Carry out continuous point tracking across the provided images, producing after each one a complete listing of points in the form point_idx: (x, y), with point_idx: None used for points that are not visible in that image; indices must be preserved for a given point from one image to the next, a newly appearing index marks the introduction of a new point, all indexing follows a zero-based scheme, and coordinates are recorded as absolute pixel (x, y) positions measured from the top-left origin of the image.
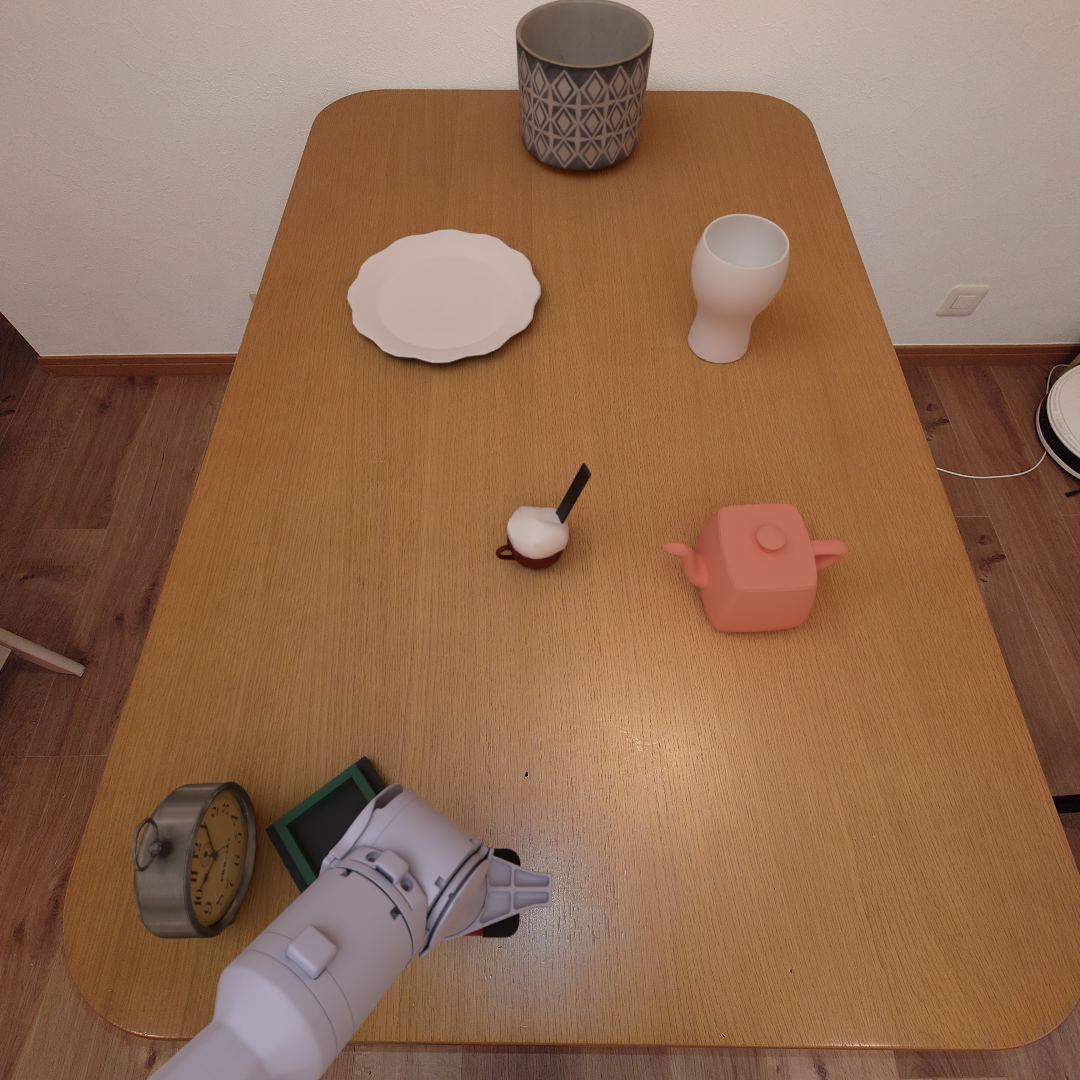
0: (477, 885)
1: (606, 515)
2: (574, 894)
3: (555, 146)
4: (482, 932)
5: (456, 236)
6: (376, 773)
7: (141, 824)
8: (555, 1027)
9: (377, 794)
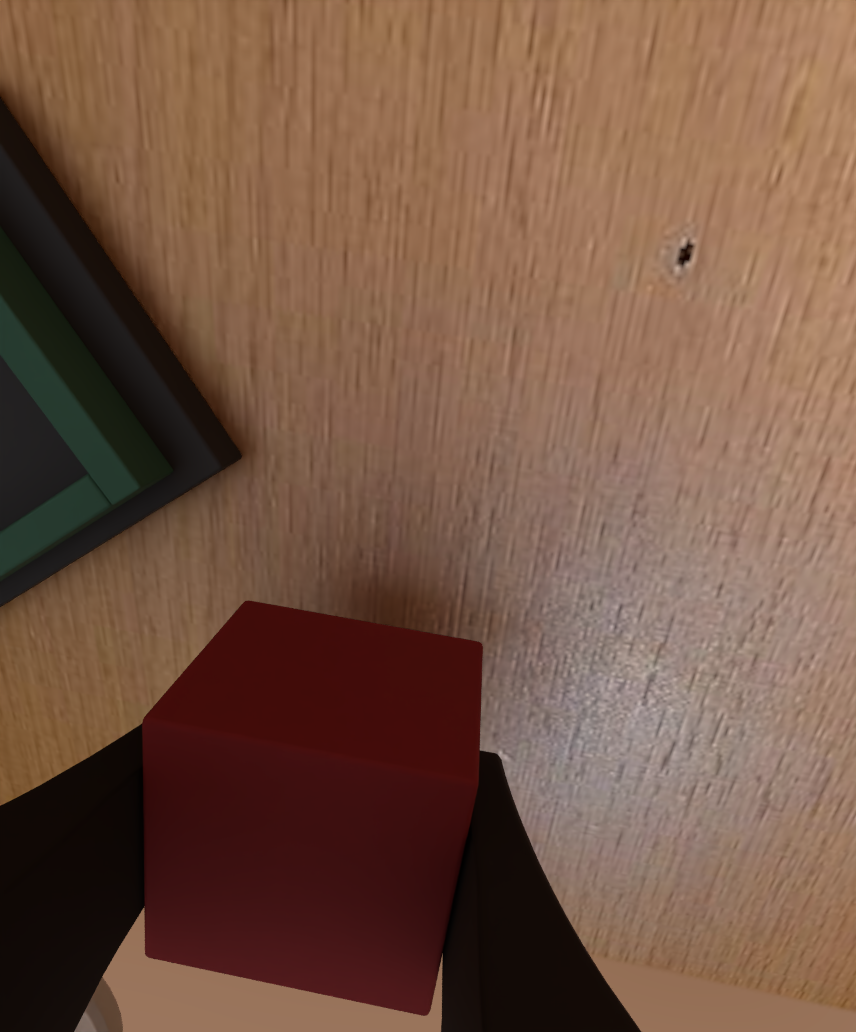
0: None
1: None
2: (743, 697)
3: None
4: (417, 1011)
5: None
6: (11, 165)
7: None
8: (593, 943)
9: (33, 265)
